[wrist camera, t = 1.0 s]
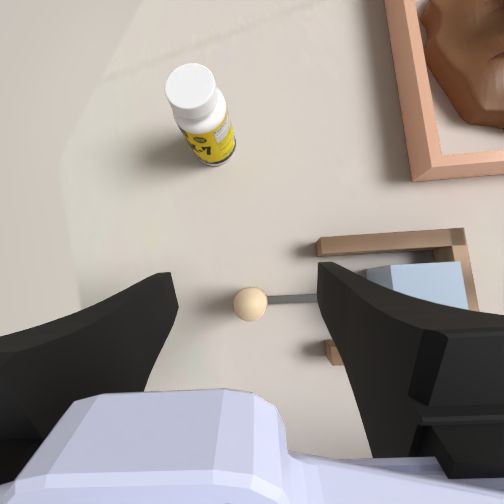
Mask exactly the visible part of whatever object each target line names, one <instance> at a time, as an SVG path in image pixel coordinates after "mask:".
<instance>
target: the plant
mask: <svg viewBox="0 0 504 504" xmlns="http://www.w3.org/2000/svg"><path fill="white" fill-rule="evenodd" d="M420 21H421V23H422V24H423V25H424V27H425V28H426V30H427V34H428V38H427V44H426V47H425V49H424V56H425V62H426V65H427V66H428V67H429V69H430V70H431V72H432V73H433V75H434V77H435V78H436V80H437V81H438V83H439V84H440V86H441V87H442V89H443V90H444V91H445V93H446V94H447V96H448V98H449V99H450V101H451V103H452V104H453V106H454V108H455V109H456V111H457V112H458V113H459V115H460V116H461V117H462V119H463V120H464V121H465V122H467V123H468V124H474V125H483V126H491V127H497V128H502V129H504V0H430V1H429V3H428V5H427V7H426V9H425V11H424V12H423V14H422V16H421V18H420Z"/></svg>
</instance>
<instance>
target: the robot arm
mask: <svg viewBox="0 0 504 504" xmlns="http://www.w3.org/2000/svg"><path fill="white" fill-rule="evenodd" d="M317 301H318V304H319V308H320V311H321V314H322V317H323V319H324V322H325V324H326V326H327V328H328V330H329V333H330V335H331V337H332V339H333V341H334V343H335V346H336V348H337V350H338V352H339V354H340V356H341V359H342V361H343V364H344V366H345V369H346V372H347V375H348V378H349V381H350V384H351V387H352V390H353V393H354V396H355V399H356V403H357V406H358V409H359V412H360V415H361V419H362V422H363V425H364V429H365V432H366V435H367V439H368V442H369V446H370V449H371V453H372V456H373V458H371V459H330V458H324V457H319V456H314V455H309V454H303V453H298V452H293V451H287V442H286V433H285V425H284V423H283V421H282V419H281V417H280V414H279V412H278V410H277V408H276V407H275V406H273V405H272V404H270V403H269V402H267V401H265V400H264V399H262V398H260V397H259V396H257V395H256V394H254V393H252V392H247V391H241V390H234V389H227V388H222V389H198V390H174V391H151V392H144V389H145V386H146V383H147V381H148V378H149V375H150V373H151V370H152V368H153V366H154V364H155V362H156V359H157V357H158V355H159V353H160V351H161V349H162V347H163V345H164V343H165V341H166V339H167V337H168V335H169V333H170V331H171V328H172V326H173V324H174V321H175V318H176V315H177V311H178V308H179V306H178V302H177V298H176V294H175V289H174V285H173V281H172V277H171V272H165V273H157V274H154V275H152V276H150V277H148V278H146V279H144V280H142V281H140V282H138V283H136V284H134V285H133V286H131V287H129V288H127V289H125V290H123V291H121V292H119V293H117V294H115V295H113V296H111V297H109V298H107V299H105V300H103V301H101V302H99V303H97V304H95V305H93V306H90V307H88V308H86V309H83V310H81V311H78V312H76V313H73V314H71V315H68V316H65V317H63V318H59V319H57V320H54V321H51V322H48V323H45V324H42V325H40V326H36V327H33V328H29V329H26V330H23V331H19V332H15V333H12V334H9V335H4V336H1V337H0V504H504V315H498V314H491V313H484V312H477V311H472V310H467V309H462V308H457V307H451V306H447V305H443V304H438V303H434V302H430V301H427V300H423V299H419V298H416V297H412V296H409V295H406V294H403V293H400V292H397V291H394V290H391V289H389V288H386V287H384V286H381V285H379V284H377V283H374V282H372V281H370V280H368V279H366V278H363V277H361V276H359V275H357V274H355V273H353V272H351V271H350V270H348V269H346V268H344V267H342V266H340V265H338V264H336V263H333V262H319V263H318V281H317Z"/></svg>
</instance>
